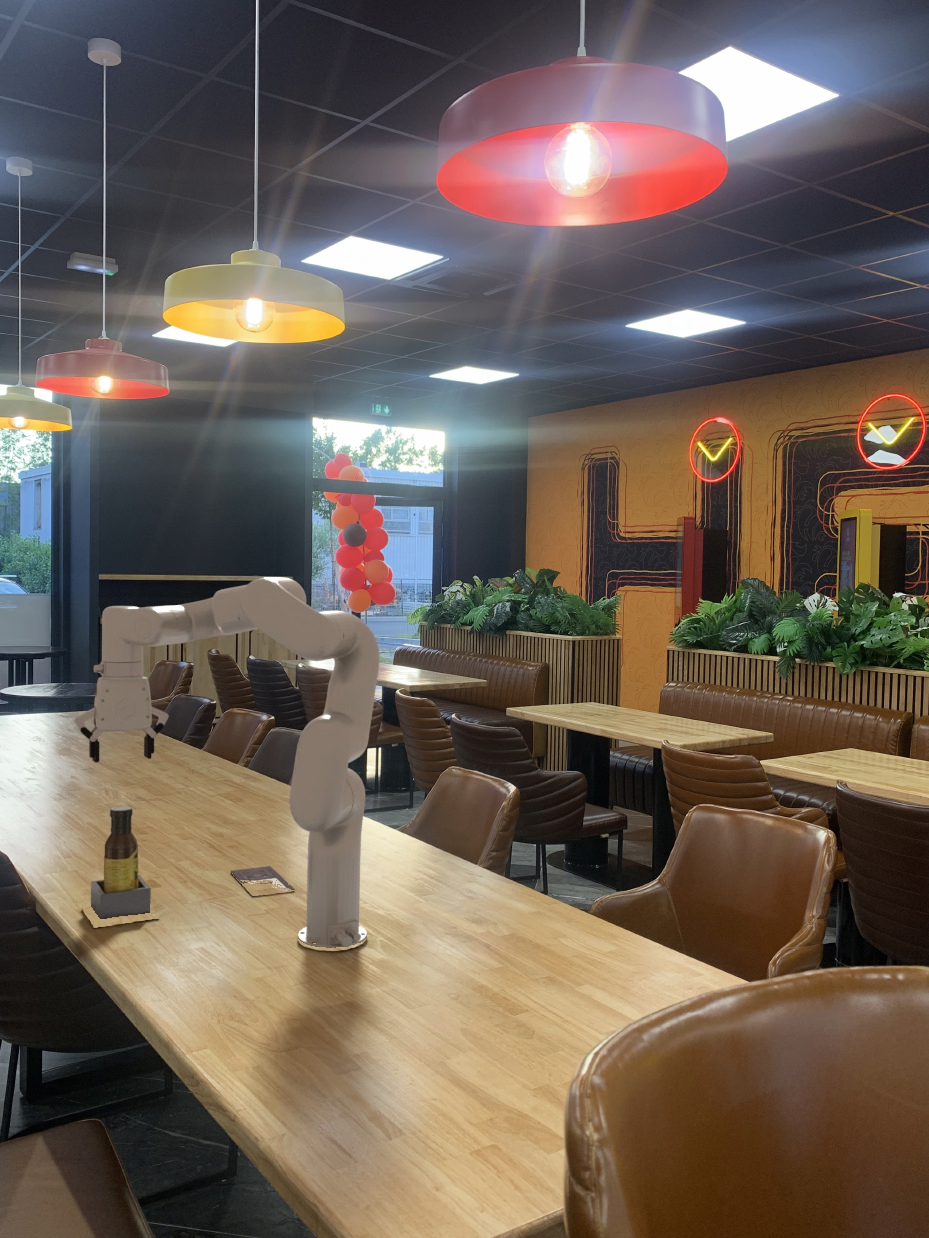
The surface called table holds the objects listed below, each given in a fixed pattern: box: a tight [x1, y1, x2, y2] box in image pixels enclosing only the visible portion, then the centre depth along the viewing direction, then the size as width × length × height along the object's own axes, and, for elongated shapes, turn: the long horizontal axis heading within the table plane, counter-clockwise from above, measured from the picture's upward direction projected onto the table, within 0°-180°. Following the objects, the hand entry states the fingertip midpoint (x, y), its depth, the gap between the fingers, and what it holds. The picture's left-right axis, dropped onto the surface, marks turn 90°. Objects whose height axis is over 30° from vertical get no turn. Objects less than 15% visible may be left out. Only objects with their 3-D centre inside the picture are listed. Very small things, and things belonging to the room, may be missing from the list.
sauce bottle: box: [103, 805, 139, 893], centre depth 193 cm, size 6×6×20 cm
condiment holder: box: [90, 874, 152, 919], centre depth 193 cm, size 12×12×6 cm
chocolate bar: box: [230, 865, 296, 891], centre depth 215 cm, size 9×1×18 cm
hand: (122, 759), depth 192 cm, fingers open, 9 cm apart
